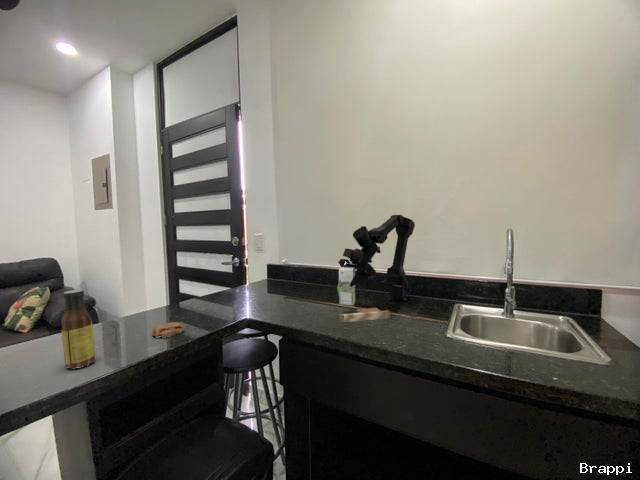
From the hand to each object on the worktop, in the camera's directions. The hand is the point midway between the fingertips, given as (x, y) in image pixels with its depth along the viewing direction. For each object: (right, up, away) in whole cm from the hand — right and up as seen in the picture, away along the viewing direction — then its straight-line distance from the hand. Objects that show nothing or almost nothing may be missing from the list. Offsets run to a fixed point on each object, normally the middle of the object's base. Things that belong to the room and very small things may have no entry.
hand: (344, 283), depth 113 cm
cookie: (-61, -15, -15) cm, 65 cm away
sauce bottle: (-73, -16, -37) cm, 84 cm away
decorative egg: (+3, -11, +29) cm, 31 cm away
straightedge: (+8, -13, -4) cm, 16 cm away
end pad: (+11, -13, +4) cm, 17 cm away
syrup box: (+1, -8, +1) cm, 9 cm away
